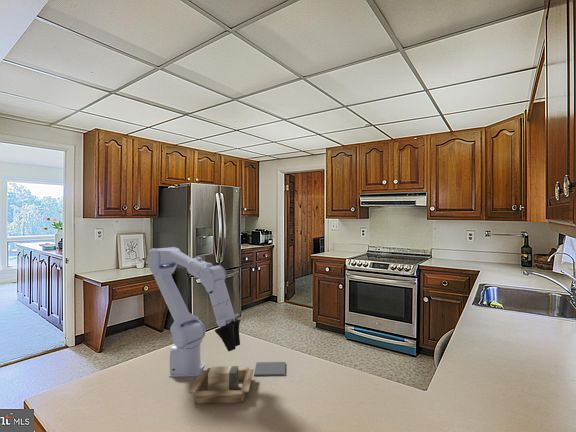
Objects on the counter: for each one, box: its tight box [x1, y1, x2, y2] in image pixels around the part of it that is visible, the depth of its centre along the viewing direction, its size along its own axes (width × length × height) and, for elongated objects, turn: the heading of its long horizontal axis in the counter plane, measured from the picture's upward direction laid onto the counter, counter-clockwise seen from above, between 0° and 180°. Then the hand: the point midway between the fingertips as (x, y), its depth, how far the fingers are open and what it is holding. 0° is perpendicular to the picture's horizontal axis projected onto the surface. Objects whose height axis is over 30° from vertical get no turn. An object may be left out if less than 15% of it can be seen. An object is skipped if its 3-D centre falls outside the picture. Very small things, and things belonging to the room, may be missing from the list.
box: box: [207, 365, 240, 391], centre depth 94 cm, size 8×4×6 cm, turn 90°
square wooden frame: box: [188, 366, 255, 404], centre depth 94 cm, size 16×16×3 cm
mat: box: [253, 361, 286, 377], centre depth 107 cm, size 10×9×1 cm
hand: (234, 348), depth 96 cm, fingers open, 7 cm apart
